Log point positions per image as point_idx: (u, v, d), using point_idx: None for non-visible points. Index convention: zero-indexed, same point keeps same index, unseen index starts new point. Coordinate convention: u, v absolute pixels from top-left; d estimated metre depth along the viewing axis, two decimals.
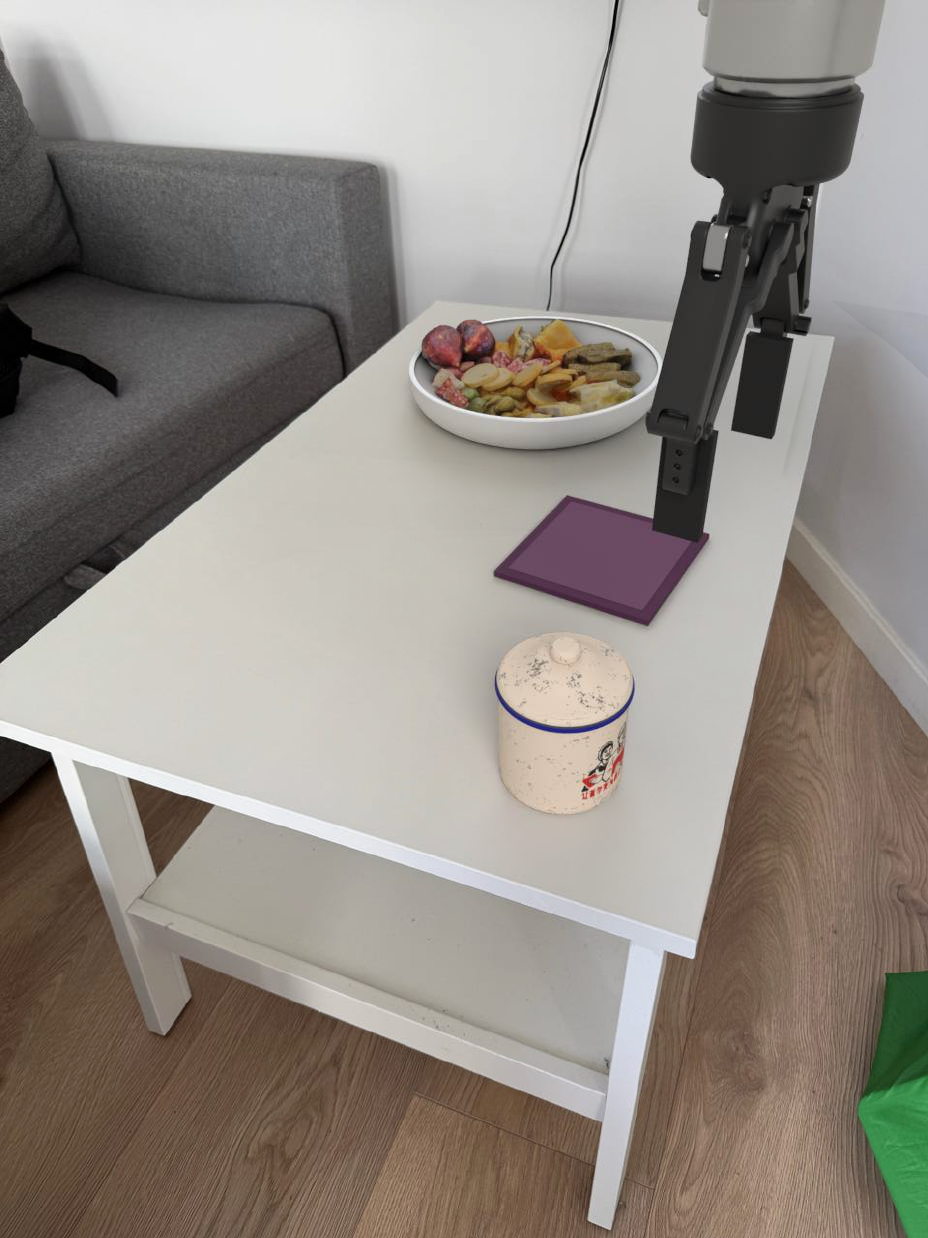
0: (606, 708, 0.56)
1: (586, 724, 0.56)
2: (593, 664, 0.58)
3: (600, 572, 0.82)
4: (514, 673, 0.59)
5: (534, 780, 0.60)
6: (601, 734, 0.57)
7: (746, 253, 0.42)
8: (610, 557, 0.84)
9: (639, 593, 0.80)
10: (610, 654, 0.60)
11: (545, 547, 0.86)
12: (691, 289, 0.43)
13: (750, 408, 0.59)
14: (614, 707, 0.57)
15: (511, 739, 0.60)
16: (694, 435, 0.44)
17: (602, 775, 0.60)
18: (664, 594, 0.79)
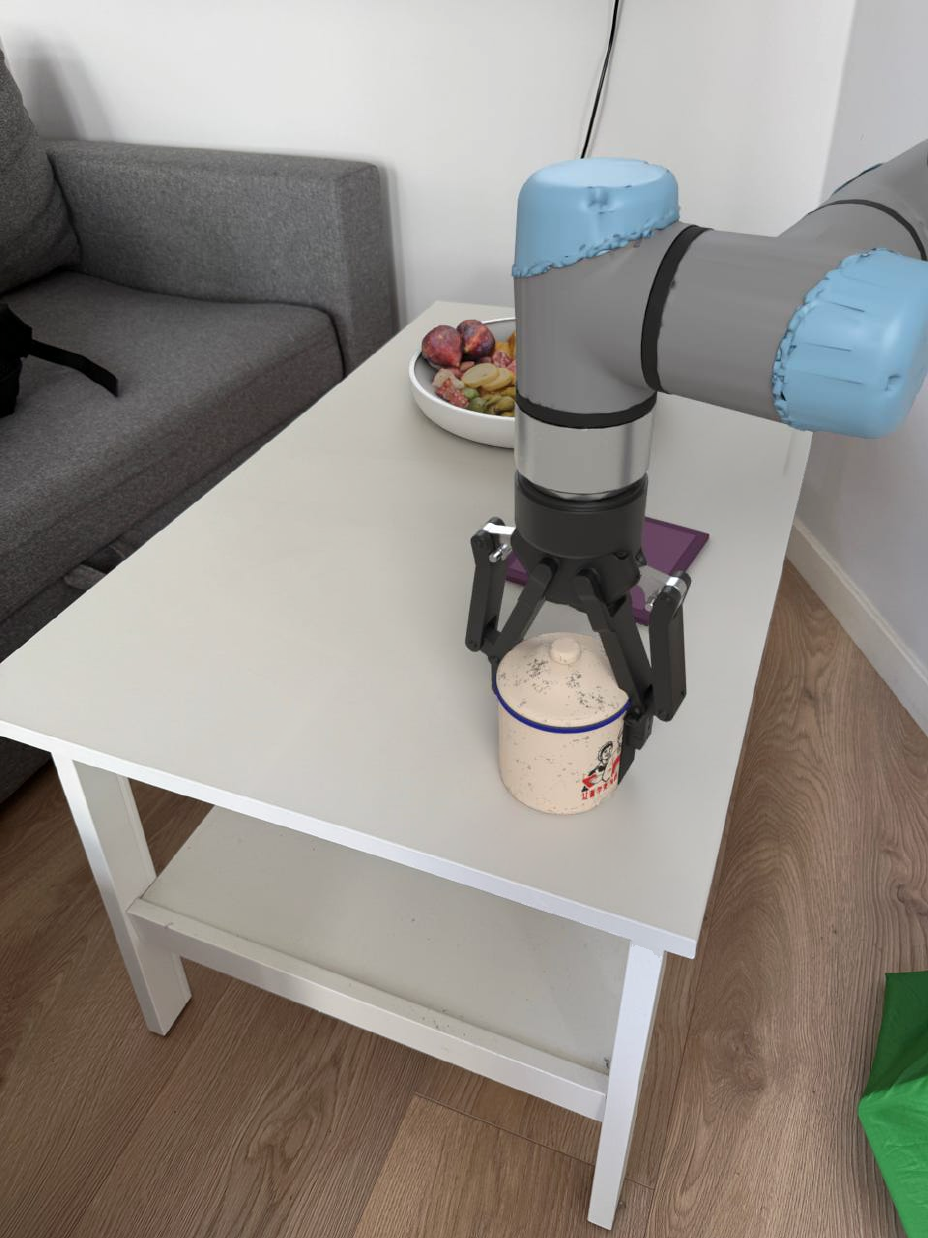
0: (606, 708, 0.56)
1: (586, 724, 0.56)
2: (593, 665, 0.58)
3: None
4: (514, 673, 0.59)
5: (534, 780, 0.60)
6: (601, 734, 0.57)
7: (485, 552, 0.57)
8: None
9: (639, 593, 0.80)
10: None
11: None
12: None
13: None
14: (614, 707, 0.57)
15: (511, 739, 0.60)
16: (466, 643, 0.63)
17: (602, 775, 0.60)
18: None
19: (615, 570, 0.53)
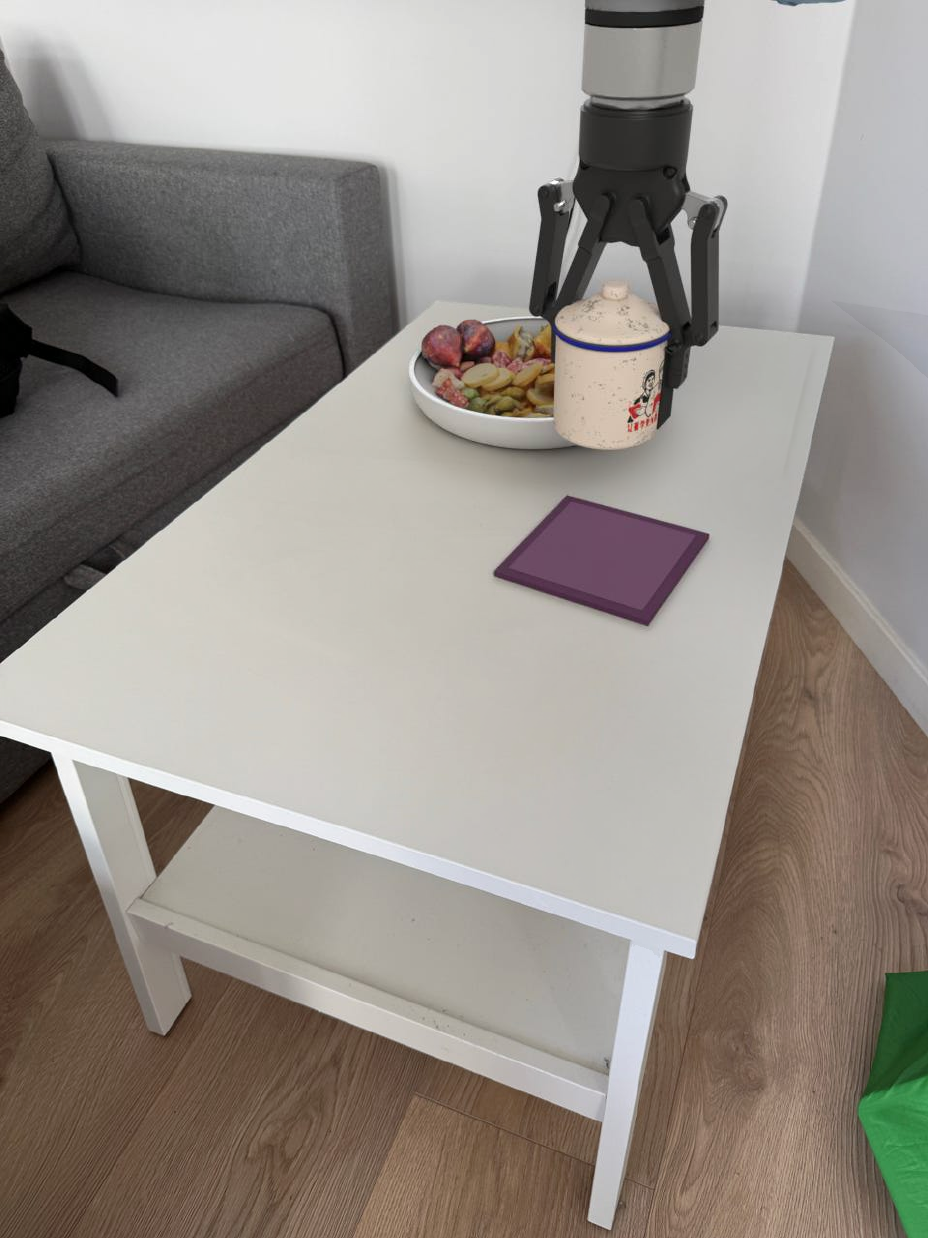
0: (651, 331, 0.67)
1: (634, 342, 0.66)
2: (639, 302, 0.68)
3: (600, 572, 0.82)
4: (571, 314, 0.69)
5: (587, 412, 0.70)
6: (646, 358, 0.67)
7: (550, 202, 0.67)
8: (610, 557, 0.84)
9: (639, 593, 0.80)
10: (652, 304, 0.70)
11: (545, 547, 0.86)
12: None
13: None
14: (657, 332, 0.67)
15: (567, 374, 0.70)
16: (530, 309, 0.73)
17: (645, 407, 0.70)
18: (664, 594, 0.79)
19: (664, 191, 0.63)
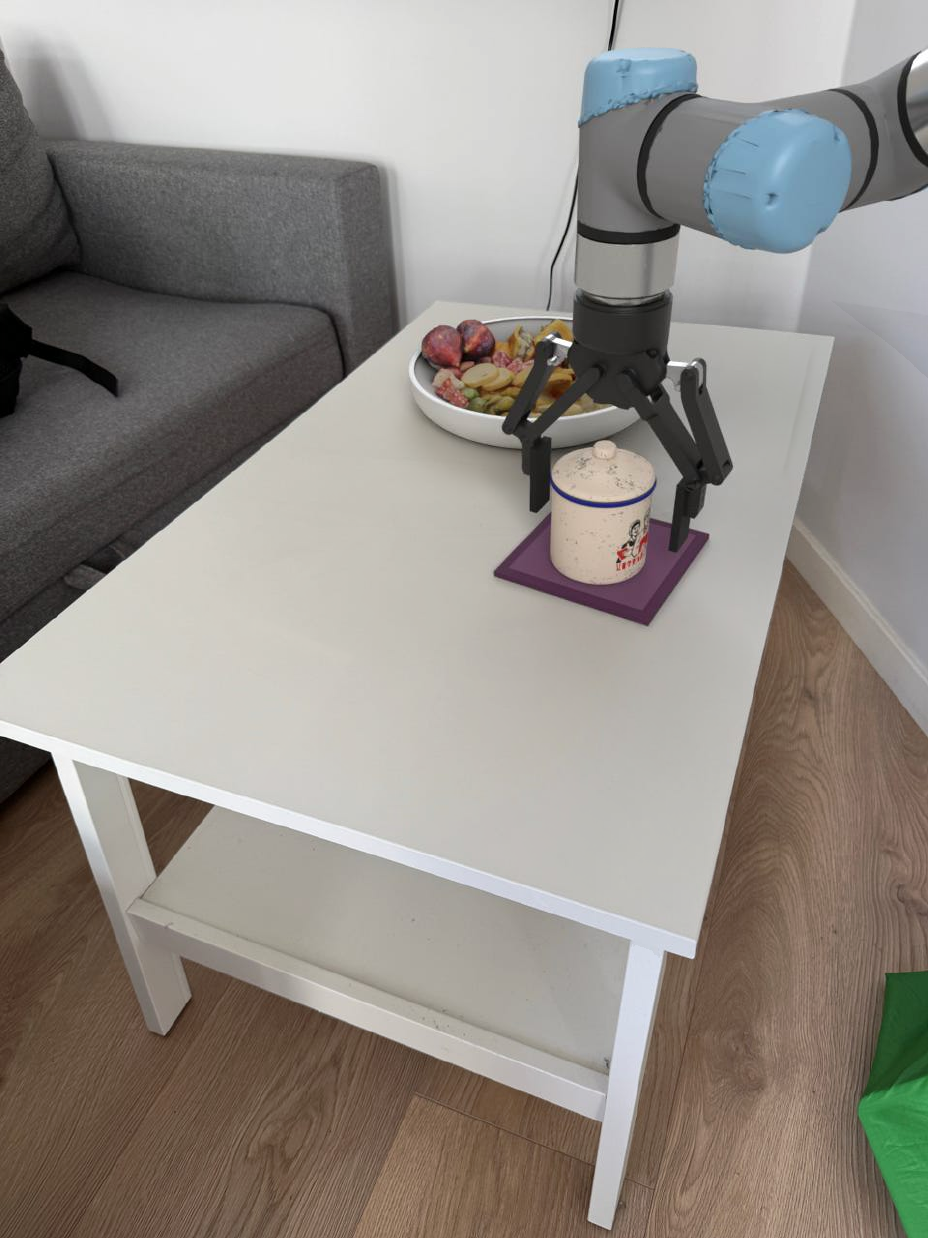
0: (636, 489, 0.75)
1: (621, 500, 0.75)
2: (626, 460, 0.77)
3: None
4: (565, 469, 0.78)
5: (580, 554, 0.79)
6: (632, 511, 0.76)
7: (545, 356, 0.75)
8: None
9: (639, 593, 0.80)
10: (637, 458, 0.79)
11: (545, 547, 0.86)
12: None
13: None
14: (642, 489, 0.76)
15: (562, 521, 0.78)
16: (502, 427, 0.81)
17: (631, 550, 0.79)
18: (664, 594, 0.79)
19: (646, 368, 0.71)
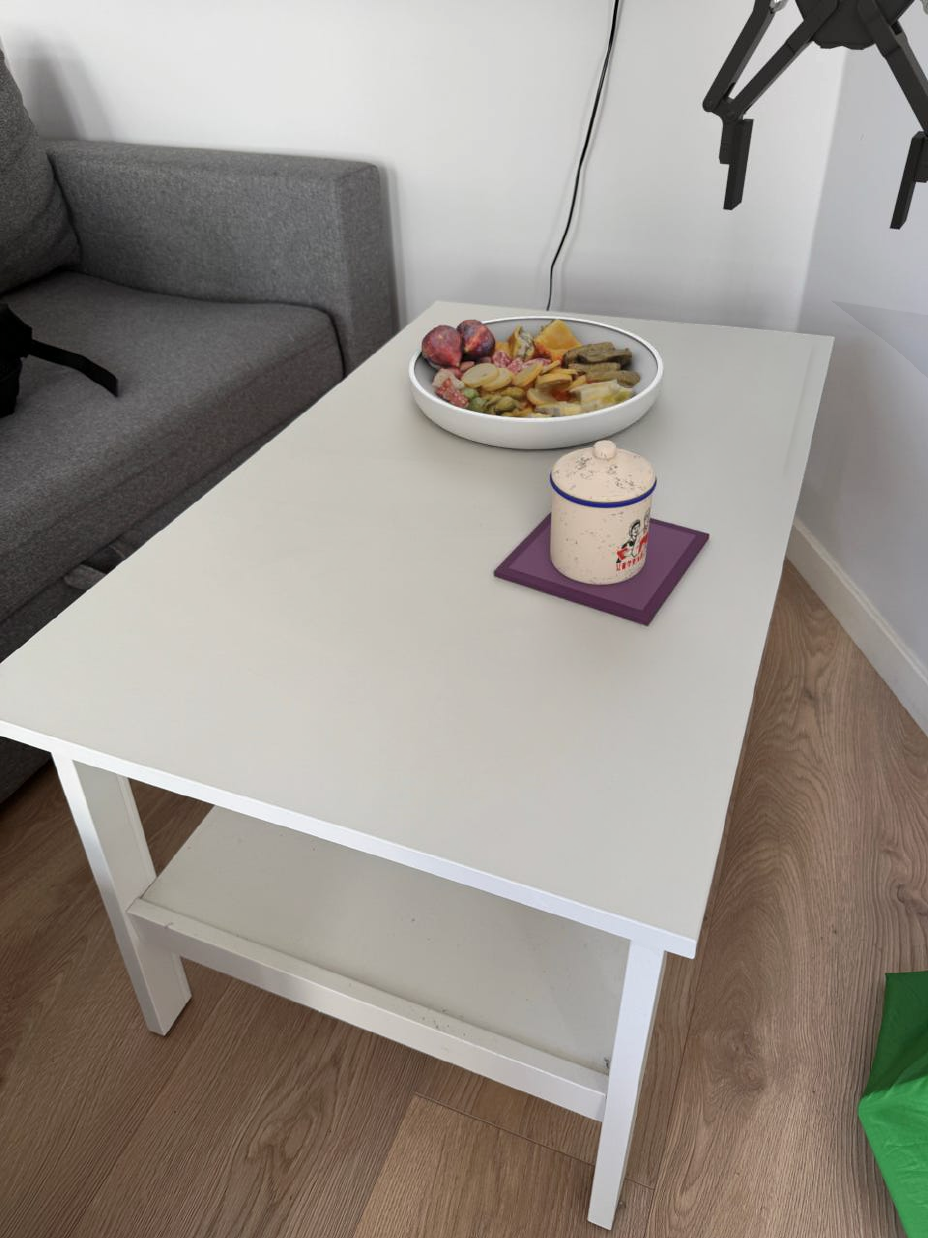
0: (636, 489, 0.75)
1: (621, 500, 0.75)
2: (626, 460, 0.77)
3: None
4: (565, 469, 0.78)
5: (580, 554, 0.79)
6: (632, 511, 0.76)
7: None
8: None
9: (639, 593, 0.80)
10: (638, 458, 0.79)
11: (545, 547, 0.86)
12: None
13: None
14: (642, 489, 0.76)
15: (562, 521, 0.78)
16: (703, 103, 0.75)
17: (631, 550, 0.79)
18: (664, 594, 0.79)
19: None
